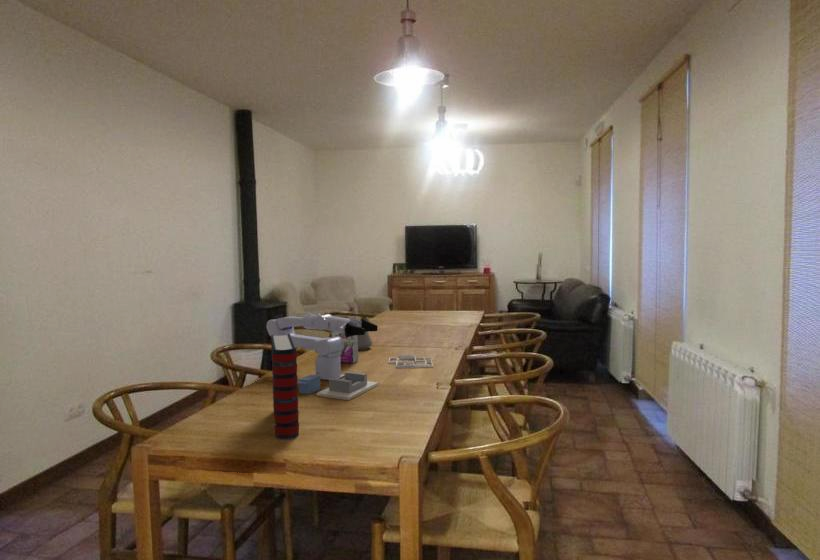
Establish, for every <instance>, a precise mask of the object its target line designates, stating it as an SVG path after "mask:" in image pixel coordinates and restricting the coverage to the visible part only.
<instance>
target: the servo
mask: <svg viewBox="0 0 820 560" xmlns="http://www.w3.org/2000/svg"><path fill="white" fill-rule="evenodd" d="M321 378H322V376H319V375H316V373H311V374H309V375H307V376H303V377H301V378H299V379H298V380H297V385H298V392H299V393H298V394H304V395H310V394H312V393H315V392H317V391H318V390H319V391H320V390H321V380H322V379H321Z"/></svg>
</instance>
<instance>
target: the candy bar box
mask: <svg viewBox="0 0 820 560" xmlns="http://www.w3.org/2000/svg"><path fill="white" fill-rule="evenodd" d="M330 336H331V337H330V338H334V337H336V336H338V337H341V338H342V340H343V342H344V349H343V350H342V351H341V354H340V362H341V363H345V364H346V363H347V364H355V363H357V362H359V350H358V335H355V336H351V337H345V333H339V332H335V331H331V330H330Z"/></svg>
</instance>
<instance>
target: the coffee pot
mask: <svg viewBox="0 0 820 560" xmlns="http://www.w3.org/2000/svg"><path fill="white" fill-rule="evenodd" d="M372 345H373V341H372V338H371V336H370V333H369V332H365V335H358V351H365V350H368V349H369V348H370V347H371V346H372Z"/></svg>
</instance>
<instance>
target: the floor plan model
mask: <svg viewBox="0 0 820 560" xmlns="http://www.w3.org/2000/svg"><path fill="white" fill-rule="evenodd" d="M399 360H404V361H399ZM405 360H406V361H405ZM407 360H408V361H407ZM417 363H424V364H417ZM388 364H389V365H395V368H396V369H427V368H428V369H433V368H434V365H433V361H432V357H417V356H416V355H415V354H398V357H389V358H388ZM427 364H428V366H427Z"/></svg>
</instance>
